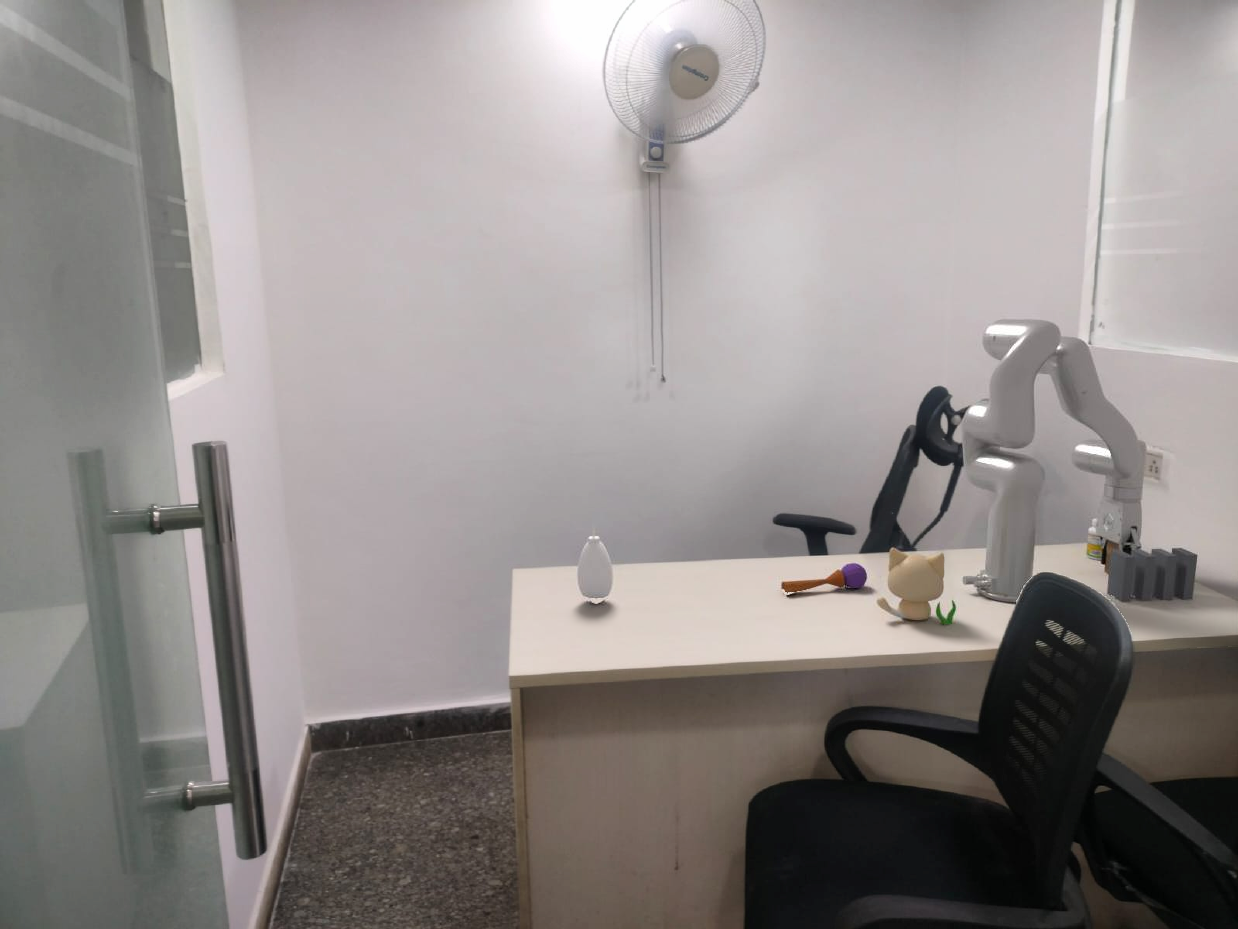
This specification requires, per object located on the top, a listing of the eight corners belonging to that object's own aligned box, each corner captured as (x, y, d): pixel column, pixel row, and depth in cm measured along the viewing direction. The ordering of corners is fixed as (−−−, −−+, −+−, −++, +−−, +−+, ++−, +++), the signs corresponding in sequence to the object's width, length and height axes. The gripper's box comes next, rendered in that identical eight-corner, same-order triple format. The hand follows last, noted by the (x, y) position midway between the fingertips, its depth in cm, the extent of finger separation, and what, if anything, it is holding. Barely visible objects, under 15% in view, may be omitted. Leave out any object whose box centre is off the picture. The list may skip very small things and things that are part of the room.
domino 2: (1121, 602, 175) (1125, 557, 174) (1106, 594, 180) (1111, 550, 178) (1130, 601, 176) (1134, 557, 174) (1115, 593, 180) (1120, 550, 178)
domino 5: (1183, 599, 176) (1188, 555, 174) (1167, 591, 181) (1172, 548, 179) (1192, 599, 176) (1197, 554, 174) (1176, 591, 181) (1181, 547, 179)
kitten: (957, 614, 171) (960, 546, 168) (953, 632, 162) (957, 560, 160) (883, 605, 178) (885, 538, 175) (875, 621, 169) (877, 551, 166)
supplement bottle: (1104, 554, 207) (1108, 517, 205) (1115, 561, 202) (1118, 523, 200) (1082, 554, 208) (1085, 517, 206) (1092, 561, 202) (1095, 523, 200)
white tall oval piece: (585, 595, 189) (582, 520, 185) (617, 598, 187) (615, 521, 183) (574, 607, 181) (570, 529, 178) (607, 610, 179) (605, 531, 176)
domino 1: (1117, 579, 189) (1121, 537, 187) (1104, 572, 194) (1108, 531, 192) (1125, 578, 189) (1129, 537, 187) (1112, 571, 194) (1116, 531, 192)
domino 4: (1162, 600, 176) (1167, 555, 174) (1147, 592, 181) (1151, 549, 179) (1171, 600, 176) (1176, 555, 174) (1156, 592, 181) (1160, 548, 179)
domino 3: (1141, 601, 176) (1146, 556, 174) (1127, 593, 180) (1131, 549, 178) (1151, 601, 176) (1155, 556, 174) (1136, 592, 180) (1140, 549, 179)
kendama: (777, 574, 188) (857, 559, 192) (781, 599, 188) (860, 584, 192) (787, 577, 182) (869, 562, 186) (791, 604, 182) (873, 588, 186)
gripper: (1085, 484, 196) (1078, 557, 200) (1130, 502, 179) (1122, 581, 183) (1115, 483, 196) (1109, 556, 200) (1164, 500, 180) (1155, 579, 183)
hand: (1115, 567), depth 191 cm, fingers closed on domino 1, 4 cm apart
